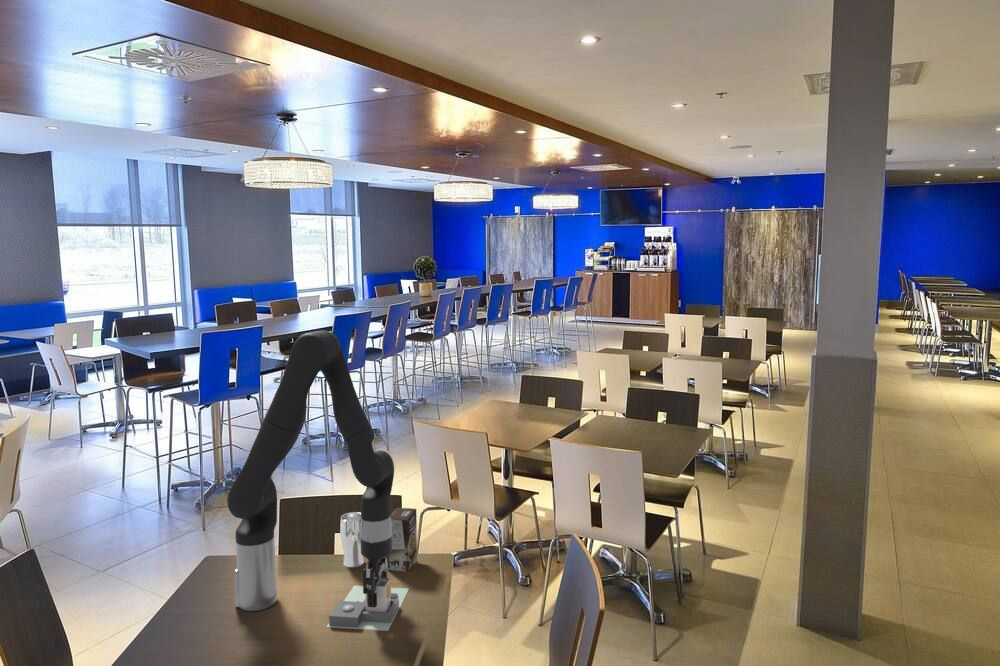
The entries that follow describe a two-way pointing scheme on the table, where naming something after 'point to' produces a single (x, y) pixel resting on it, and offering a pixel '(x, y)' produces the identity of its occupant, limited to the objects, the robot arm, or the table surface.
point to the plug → (381, 597)
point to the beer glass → (351, 539)
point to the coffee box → (403, 539)
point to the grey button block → (347, 614)
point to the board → (376, 618)
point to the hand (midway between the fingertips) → (377, 597)
